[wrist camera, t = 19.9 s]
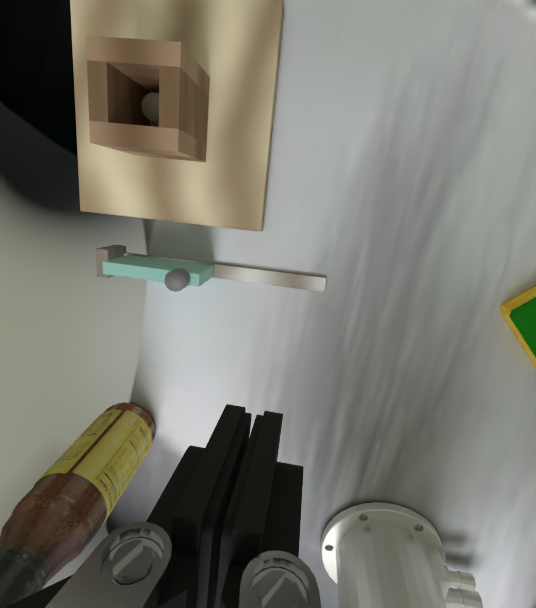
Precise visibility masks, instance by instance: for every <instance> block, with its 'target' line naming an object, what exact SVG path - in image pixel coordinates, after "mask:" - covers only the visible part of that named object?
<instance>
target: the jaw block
mask: <svg viewBox="0 0 536 608" xmlns="http://www.w3.org/2000/svg"><path fill="white" fill-rule="evenodd" d="M86 52H87V79H88V105H89V132H90V143H93V144H97V145H100V146H104V147H107V148H111V149H114V150H118V151H121V152H125V153H128V154H132V155H137V156H147V157H157V158H167V159H177V160H187V161H197V162H206V149H207V128H208V108H209V88H210V77H209V76H208V75H207V73H206V72H205V71H204V70H203V68H202V67H201V66H200V65H199V63H198V62H197V61H196V60H195V59H194V57H193V56H192V55H191V54H190V52H189V51H188V50H187V49H186V47H185V46H184V45H183V44H182V43H181V42H176V41H161V40H146V39H131V38H116V37H101V36H86ZM151 92H155V93H159V127H152V126H150V120H149V119H147V118H146V117H145V116H144V114H143V112H142V107H141V105H142V100H143V98H144V97H145V96H146V95H147V94H149V93H151Z"/></svg>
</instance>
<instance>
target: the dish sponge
mask: <svg viewBox="0 0 536 608" xmlns="http://www.w3.org/2000/svg"><path fill="white" fill-rule="evenodd" d="M500 312H501V314H502V316H503V317H504V319H505V320H506V322H507V323H508V325H509V326H510V328H511V330H512V331H513V333H514V334H515V336H516V337H517V339H518V340H519V342H520V344H521V345H522V347H523V348H524V350H525V351H526V353H527V354H528V356H529V358H530V359H531V361H532V362H533V364H534V365H535V367H536V286H535V287H533V288H531V289H529V290H528V291H526V292H524V293H522V294H521V295H519V296H517V297H515V298H514V299H512V300H510V301H508V302H507V303H505V304H503V305H501V308H500Z"/></svg>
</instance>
